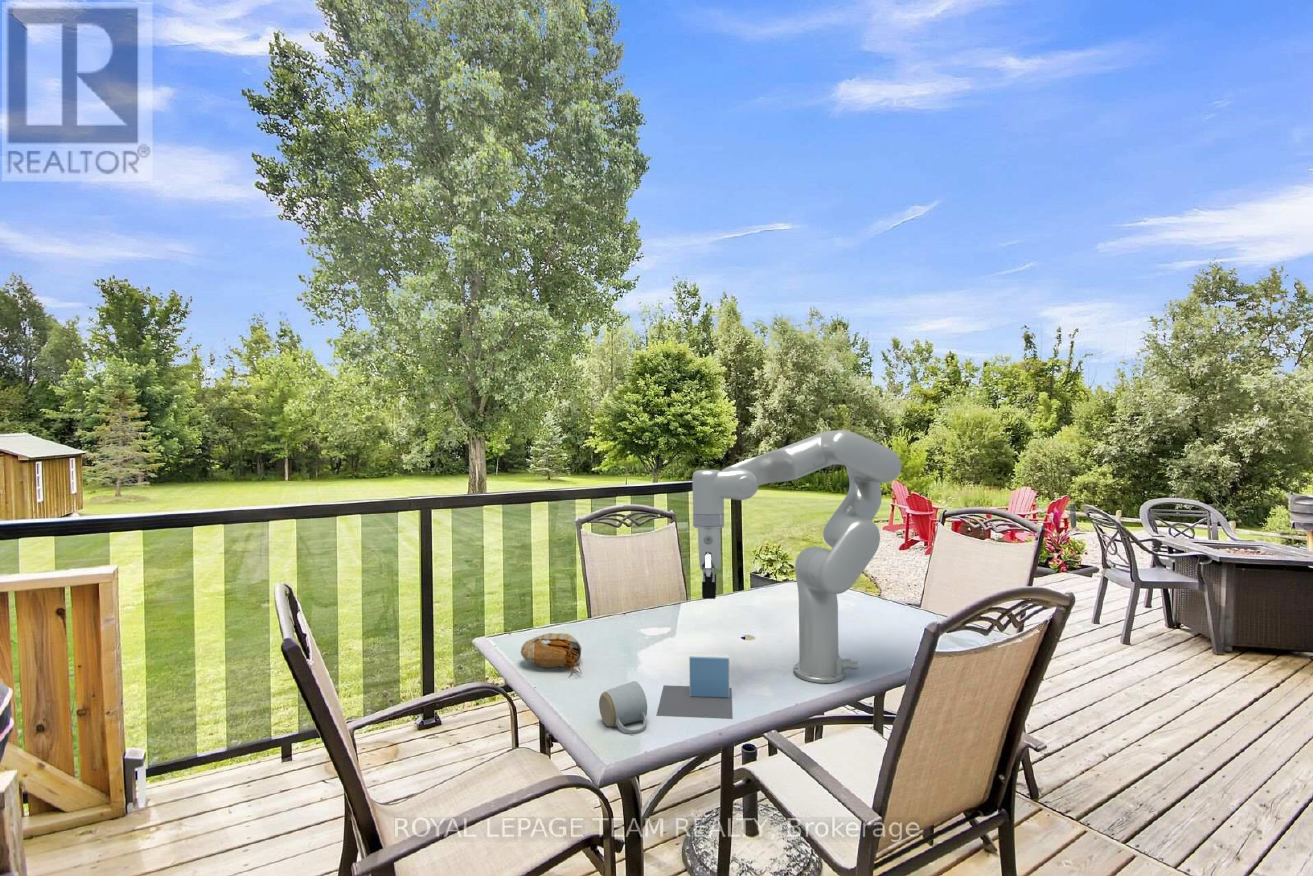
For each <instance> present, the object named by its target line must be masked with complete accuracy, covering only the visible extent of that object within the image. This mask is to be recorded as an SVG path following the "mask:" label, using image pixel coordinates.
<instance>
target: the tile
mask: <svg viewBox="0 0 1313 876" xmlns="http://www.w3.org/2000/svg"><path fill="white" fill-rule="evenodd" d="M688 658H689V663H688V664H689V665H688V666H689V667H688V668H689V669H688V670H689V686H690V696H698V697H725V698H730V688H731V687H730V655H729V654H705V653H702V654H701V653H699V654H698V653H689V657H688Z"/></svg>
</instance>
